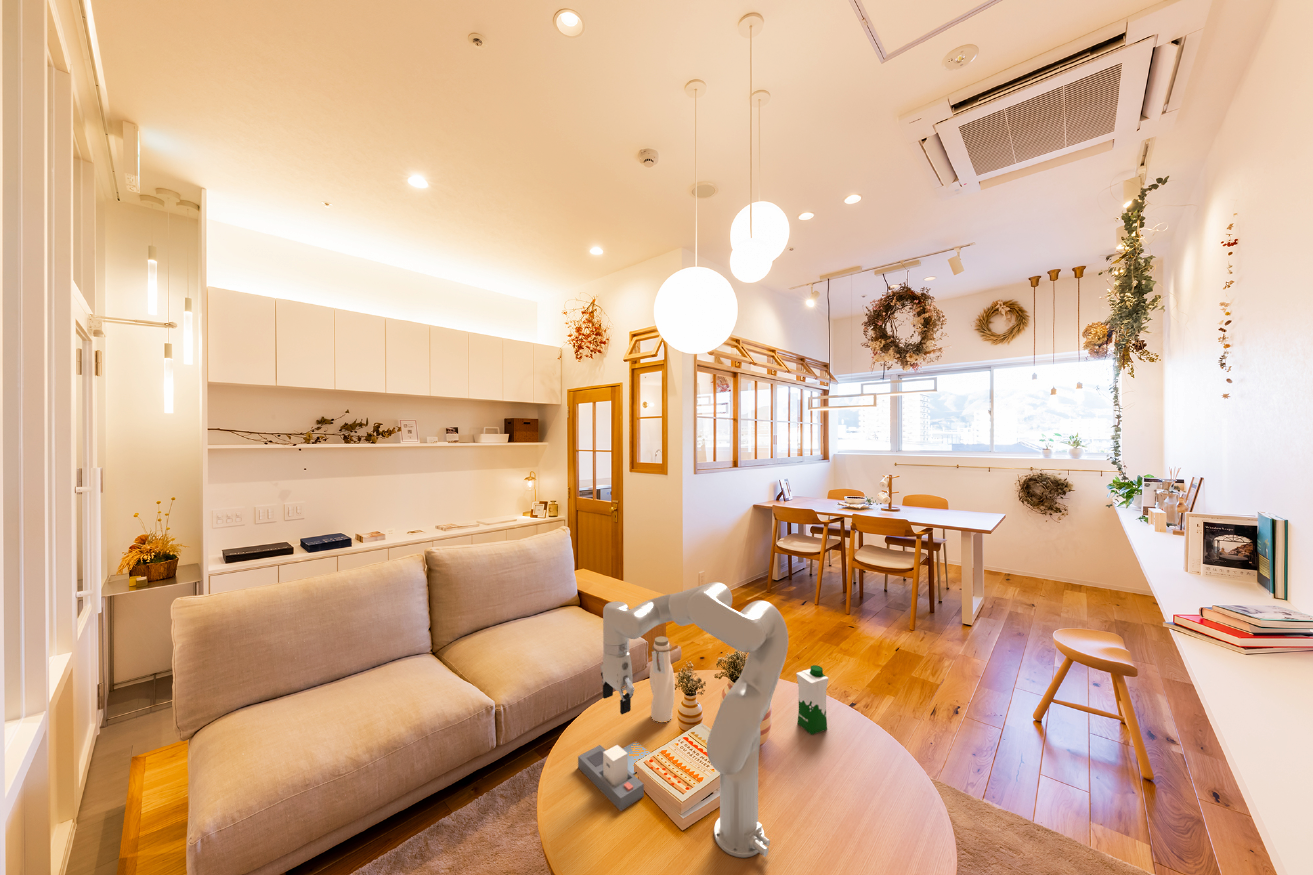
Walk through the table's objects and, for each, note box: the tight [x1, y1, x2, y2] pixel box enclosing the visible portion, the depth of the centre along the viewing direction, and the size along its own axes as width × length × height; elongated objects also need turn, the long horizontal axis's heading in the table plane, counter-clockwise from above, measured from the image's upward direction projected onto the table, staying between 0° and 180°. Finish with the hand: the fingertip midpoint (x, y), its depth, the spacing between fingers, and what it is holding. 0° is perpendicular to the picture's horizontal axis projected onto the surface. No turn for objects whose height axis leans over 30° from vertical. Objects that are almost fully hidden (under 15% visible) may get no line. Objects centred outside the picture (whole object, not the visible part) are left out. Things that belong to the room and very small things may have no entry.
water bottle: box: [649, 635, 676, 722], centre depth 168 cm, size 10×9×28 cm
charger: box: [603, 744, 628, 788], centre depth 135 cm, size 5×5×8 cm
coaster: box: [622, 741, 651, 776], centre depth 147 cm, size 11×11×1 cm
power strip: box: [577, 744, 645, 812], centre depth 138 cm, size 22×8×4 cm, turn 41°
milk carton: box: [796, 664, 829, 736], centre depth 163 cm, size 9×9×20 cm
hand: (616, 704), depth 137 cm, fingers open, 9 cm apart
